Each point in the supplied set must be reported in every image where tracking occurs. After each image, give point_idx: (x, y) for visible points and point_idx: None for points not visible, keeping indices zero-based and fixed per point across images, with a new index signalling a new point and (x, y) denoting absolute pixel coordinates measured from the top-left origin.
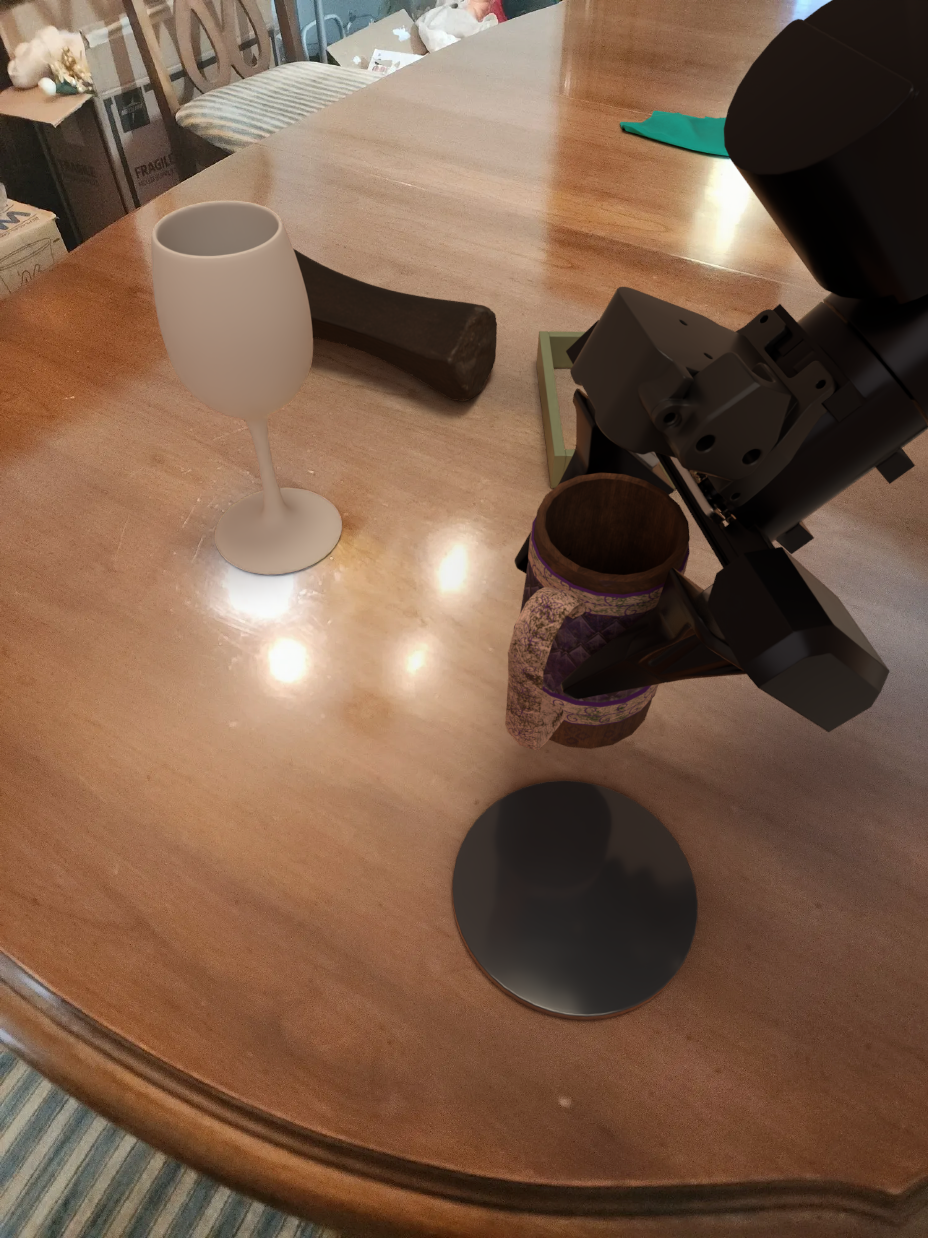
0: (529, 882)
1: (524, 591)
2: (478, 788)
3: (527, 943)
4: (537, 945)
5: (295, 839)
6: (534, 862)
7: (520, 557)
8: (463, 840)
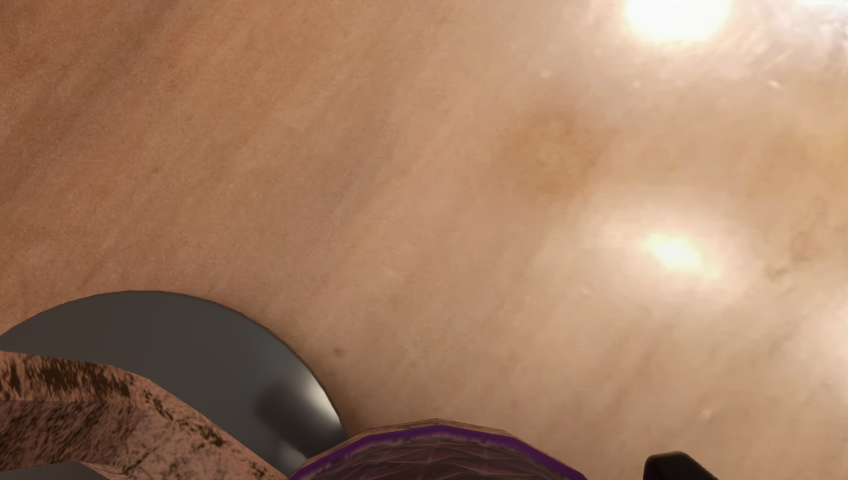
0: None
1: (480, 470)
2: (368, 358)
3: None
4: None
5: (292, 31)
6: None
7: (675, 475)
8: (247, 318)
